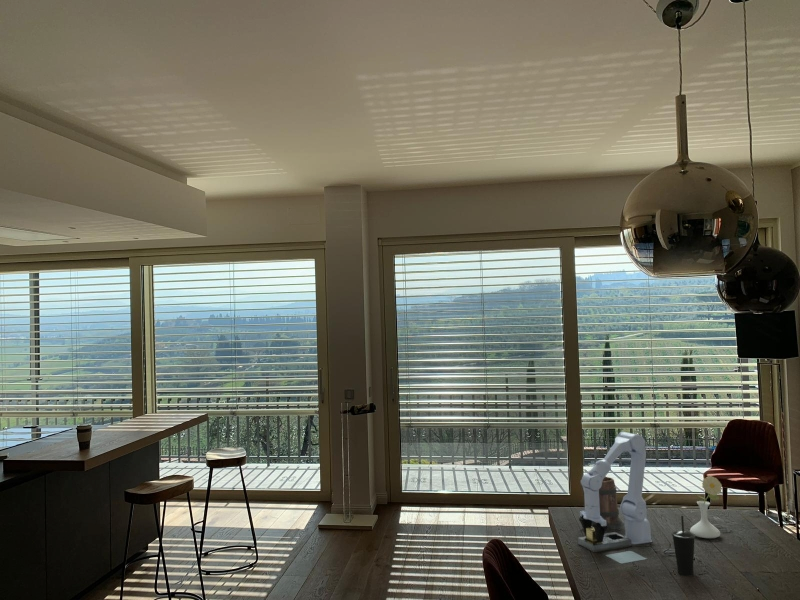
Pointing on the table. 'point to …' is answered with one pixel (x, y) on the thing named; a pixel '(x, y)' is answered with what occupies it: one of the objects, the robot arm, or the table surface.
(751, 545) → the table surface
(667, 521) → the table surface
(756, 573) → the table surface
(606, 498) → the tankard
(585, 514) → the robot arm
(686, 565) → the drinking cup
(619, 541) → the grey socket tray
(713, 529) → the flower in vase
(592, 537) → the beige rectangular block
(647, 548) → the table surface
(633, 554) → the pale flat rectangular plate
